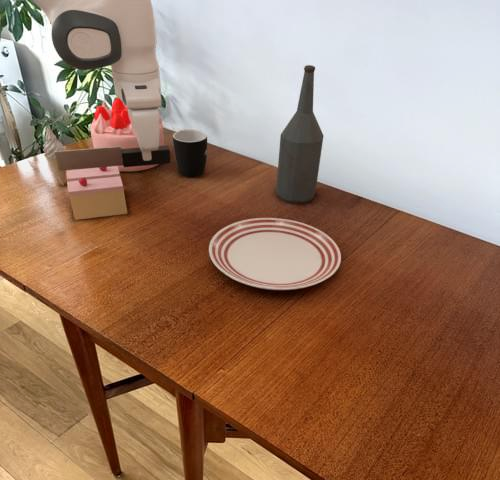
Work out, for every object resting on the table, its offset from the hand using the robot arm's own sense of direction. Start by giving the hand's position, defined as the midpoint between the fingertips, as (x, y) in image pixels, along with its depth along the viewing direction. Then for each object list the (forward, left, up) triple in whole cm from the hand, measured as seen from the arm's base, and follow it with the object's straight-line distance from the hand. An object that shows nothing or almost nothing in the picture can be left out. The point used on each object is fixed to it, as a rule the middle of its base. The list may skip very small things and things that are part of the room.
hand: (145, 155), depth 99 cm
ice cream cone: (-19, +23, -15) cm, 34 cm away
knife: (-6, 0, -2) cm, 7 cm away
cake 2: (0, +36, -15) cm, 39 cm away
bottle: (+38, +3, -15) cm, 41 cm away
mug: (+15, +24, -15) cm, 32 cm away
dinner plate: (+22, -24, -15) cm, 36 cm away
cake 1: (-11, +10, -15) cm, 21 cm away
